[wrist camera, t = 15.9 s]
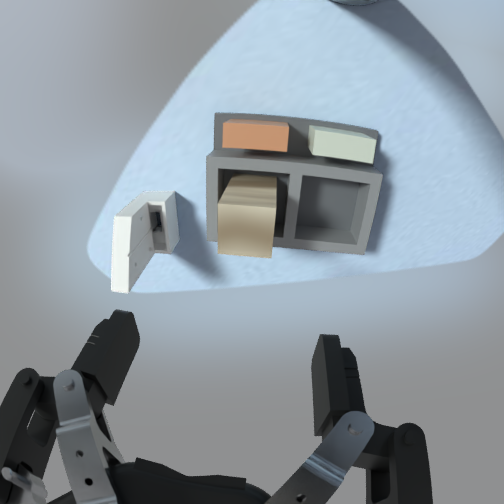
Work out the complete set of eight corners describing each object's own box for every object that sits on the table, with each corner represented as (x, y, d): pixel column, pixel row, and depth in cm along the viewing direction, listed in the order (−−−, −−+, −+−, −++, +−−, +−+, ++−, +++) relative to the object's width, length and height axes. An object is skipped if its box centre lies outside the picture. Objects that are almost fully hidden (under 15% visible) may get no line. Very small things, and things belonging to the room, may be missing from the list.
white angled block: (148, 281, 32) (111, 291, 24) (153, 195, 32) (118, 179, 24) (177, 284, 32) (146, 295, 23) (183, 195, 32) (153, 177, 23)
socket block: (216, 112, 25) (204, 116, 20) (375, 129, 24) (394, 137, 20) (215, 222, 31) (204, 246, 26) (355, 235, 30) (366, 260, 26)
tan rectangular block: (233, 173, 27) (217, 203, 20) (276, 176, 26) (276, 208, 20) (232, 212, 29) (217, 253, 22) (273, 215, 29) (271, 258, 22)
